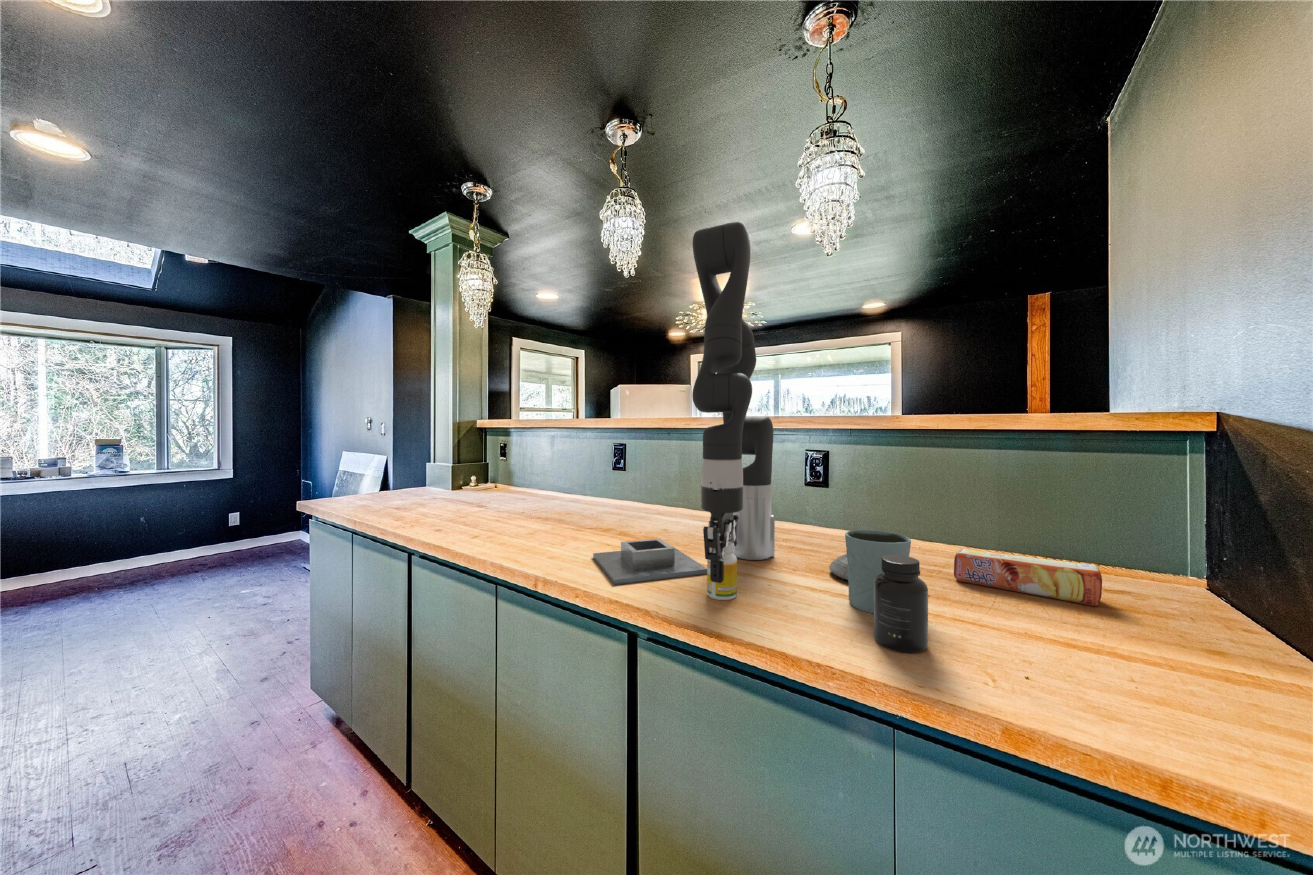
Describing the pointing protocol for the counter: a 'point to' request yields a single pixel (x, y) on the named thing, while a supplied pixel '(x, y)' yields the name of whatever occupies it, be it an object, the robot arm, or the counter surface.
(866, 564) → the grey-green cup
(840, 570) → the flying saucer
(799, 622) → the counter surface
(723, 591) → the supplement bottle
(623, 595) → the counter surface
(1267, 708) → the counter surface
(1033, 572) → the snack package
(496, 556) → the counter surface
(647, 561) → the sleeve
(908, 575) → the supplement bottle
